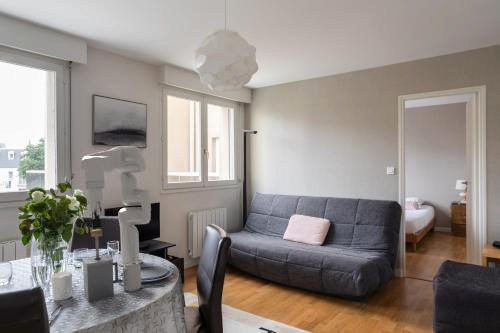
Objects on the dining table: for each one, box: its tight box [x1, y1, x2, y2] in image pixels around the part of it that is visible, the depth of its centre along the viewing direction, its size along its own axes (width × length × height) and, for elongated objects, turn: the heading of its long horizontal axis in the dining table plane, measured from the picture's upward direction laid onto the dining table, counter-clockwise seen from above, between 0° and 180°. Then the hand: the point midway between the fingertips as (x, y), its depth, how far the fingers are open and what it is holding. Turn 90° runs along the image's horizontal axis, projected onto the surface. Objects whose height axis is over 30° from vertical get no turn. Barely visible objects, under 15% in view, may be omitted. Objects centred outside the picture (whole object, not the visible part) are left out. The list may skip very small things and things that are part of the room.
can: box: [122, 261, 142, 292], centre depth 151 cm, size 8×8×12 cm
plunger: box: [90, 228, 103, 260], centre depth 144 cm, size 4×4×14 cm
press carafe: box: [81, 253, 119, 303], centre depth 145 cm, size 10×13×16 cm
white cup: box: [50, 270, 73, 302], centre depth 144 cm, size 8×8×10 cm
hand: (96, 227), depth 144 cm, fingers closed
